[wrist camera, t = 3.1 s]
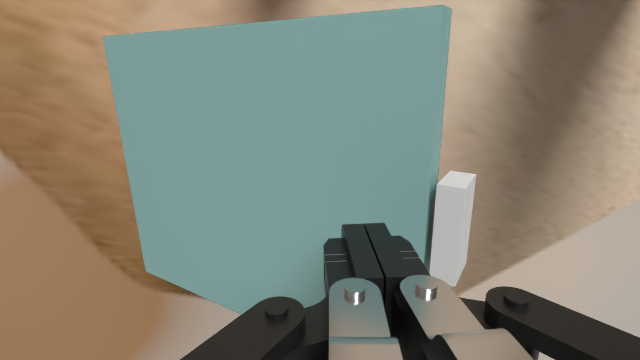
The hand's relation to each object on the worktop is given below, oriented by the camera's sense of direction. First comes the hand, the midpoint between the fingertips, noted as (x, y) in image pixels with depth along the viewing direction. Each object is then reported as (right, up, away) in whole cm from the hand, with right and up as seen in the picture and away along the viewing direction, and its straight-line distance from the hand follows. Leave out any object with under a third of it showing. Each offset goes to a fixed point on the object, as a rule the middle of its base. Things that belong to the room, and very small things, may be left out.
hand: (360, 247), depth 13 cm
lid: (-4, +2, +7) cm, 9 cm away
